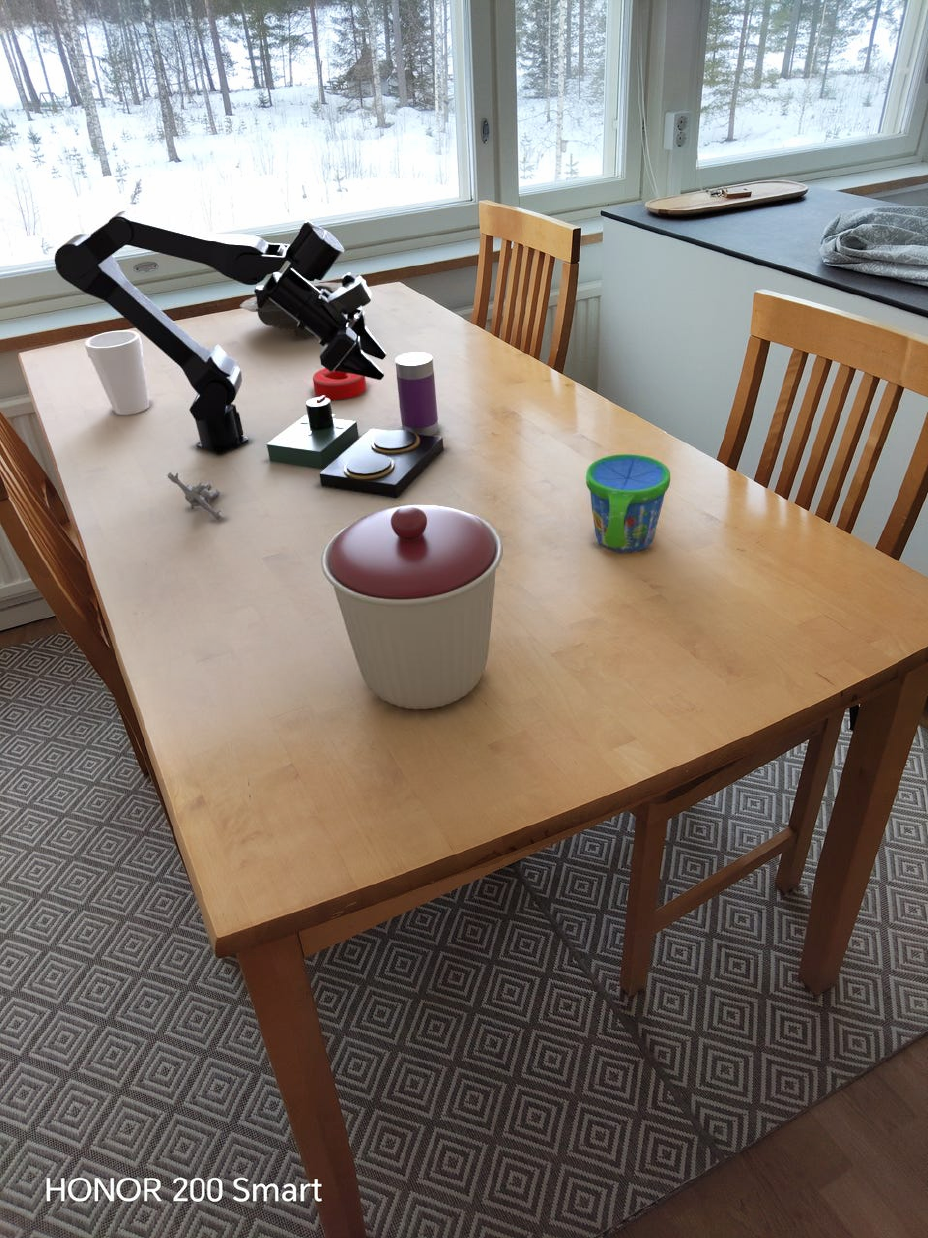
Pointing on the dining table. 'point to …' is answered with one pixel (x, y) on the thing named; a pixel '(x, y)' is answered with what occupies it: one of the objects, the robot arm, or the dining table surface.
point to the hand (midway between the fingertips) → (383, 367)
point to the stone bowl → (278, 317)
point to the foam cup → (120, 369)
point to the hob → (382, 462)
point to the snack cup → (626, 500)
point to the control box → (312, 443)
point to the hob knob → (319, 413)
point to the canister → (416, 600)
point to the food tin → (417, 393)
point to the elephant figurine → (198, 495)
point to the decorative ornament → (338, 384)
